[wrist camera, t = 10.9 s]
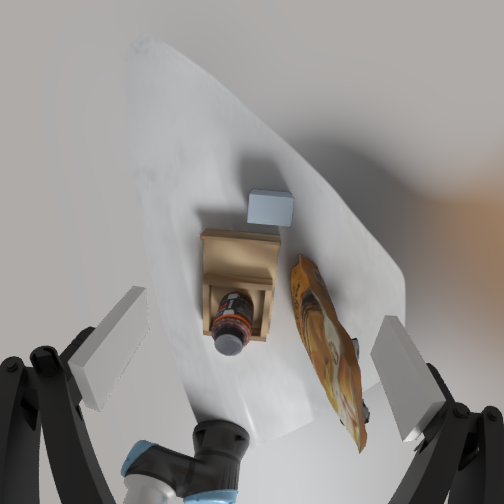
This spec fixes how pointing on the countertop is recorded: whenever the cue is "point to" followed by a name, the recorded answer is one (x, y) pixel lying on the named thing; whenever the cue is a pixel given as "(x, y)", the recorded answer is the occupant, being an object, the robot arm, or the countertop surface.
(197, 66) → the countertop surface
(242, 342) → the supplement bottle
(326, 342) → the pancake mix bag
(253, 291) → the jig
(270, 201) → the wing block
